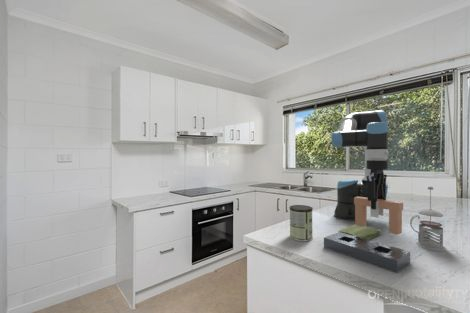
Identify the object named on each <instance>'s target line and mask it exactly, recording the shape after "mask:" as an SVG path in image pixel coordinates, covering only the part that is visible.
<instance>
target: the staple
mask: <svg viewBox="0 0 470 313" xmlns="http://www.w3.org/2000/svg"><path fill="white" fill-rule="evenodd" d="M377 201H378V208H382V209H383V210H387V211H388V233H390V234H394V235H400V234H402V233H403V217H402V216H403V213H402V212H403V210H404V202H403V201H395V200H389V199H386V200H382V199H377ZM354 204H355V220H354V221H355V222H354V225H358V226H362V227H363V226H367V225H368V224H367V218H368V216H367V212H368V211H367V209H368V207H370V208H371V201H369V200H368V198H366V197H354Z"/></svg>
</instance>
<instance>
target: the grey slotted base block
mask: <svg viewBox="0 0 470 313" xmlns="http://www.w3.org/2000/svg"><path fill="white" fill-rule="evenodd" d="M323 248H324V249H327V250H331V251H334V252H337V253H338V254H342V255H344V256H348V257H350V258H352V259H353V258H354V259H356V260H360V262H361V261H362V262H364V263H367V264H371V265H374V266H376V267H378V268H381V269H385V270H387V271H390V272H393V273H396V274H398V273H399V272H400V271H402V270H403V269H404V268H406V267H407V266H408V265H410V263H411V251H410V250H406V249H403V248H399V247H396V246H391V245H388V244H384V243H381V242H377V241H373V240H371V239H369V240H367V239H363V238H359V237H356V236H352V235H348V234H345V233H341V232H338V231H337V232H335V233H333V234H330V235H327V236H325V237H323Z"/></svg>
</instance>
